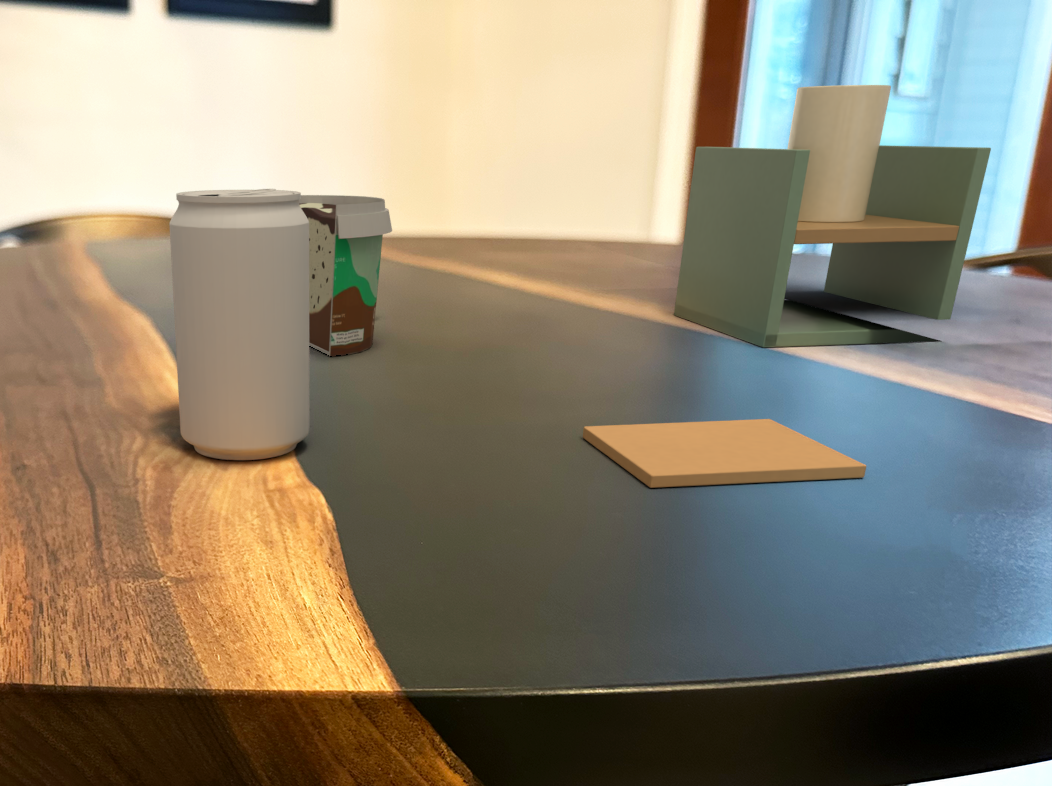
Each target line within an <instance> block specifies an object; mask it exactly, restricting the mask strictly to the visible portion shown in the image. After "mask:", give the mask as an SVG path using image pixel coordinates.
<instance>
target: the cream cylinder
mask: <svg viewBox="0 0 1052 786" xmlns="http://www.w3.org/2000/svg"><path fill="white" fill-rule="evenodd" d="M891 89H892V85H889V84H887V85H886V84H846V85H845V84H843V85H841V84H840V85H816V86H814V85H812V86H800V87H797V90H796V95H795V101H794V107H793V112H792V119H791V124H790V129H789V130H790V131H789V137H788V142H787V143H788V144H787V148H786V149H802V150H810V154H809V160H808V166H807V171H806V177H805V183H804V189H803V194H802V200H801V206H800V212H799V217H798V222H822V223H845V222H860V221H864V220H865V215H866V210H867V205H868V200H869V195H870V190H871V185H872V180H873V175H874V170H875V165H876V160H877V155H878V150H879V145H881V140H882V135H883V130H884V125H885V120H886V115H887V110H888V104H889V100H890V94H891Z"/></svg>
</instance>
